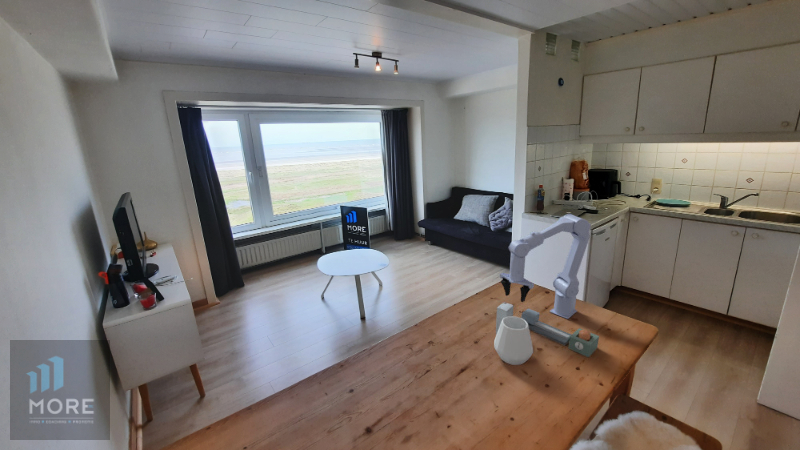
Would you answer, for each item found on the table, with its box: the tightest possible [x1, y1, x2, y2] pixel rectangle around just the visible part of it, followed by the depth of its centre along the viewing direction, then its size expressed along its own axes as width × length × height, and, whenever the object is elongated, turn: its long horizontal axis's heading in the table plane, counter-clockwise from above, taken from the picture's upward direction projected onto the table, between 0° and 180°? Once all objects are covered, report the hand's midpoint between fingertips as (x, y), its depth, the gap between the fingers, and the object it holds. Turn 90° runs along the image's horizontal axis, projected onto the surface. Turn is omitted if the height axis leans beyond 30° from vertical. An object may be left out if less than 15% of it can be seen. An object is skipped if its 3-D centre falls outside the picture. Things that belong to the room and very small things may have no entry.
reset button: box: [579, 329, 591, 342], centre depth 119 cm, size 4×4×4 cm
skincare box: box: [495, 301, 514, 335], centre depth 130 cm, size 6×4×12 cm
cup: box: [493, 315, 534, 366], centre depth 116 cm, size 13×13×14 cm
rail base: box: [520, 315, 572, 347], centre depth 131 cm, size 7×20×2 cm, turn 40°
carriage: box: [521, 308, 540, 325], centre depth 135 cm, size 5×5×4 cm
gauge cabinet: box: [568, 327, 600, 358], centre depth 120 cm, size 8×7×5 cm
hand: (515, 298), depth 139 cm, fingers open, 7 cm apart
